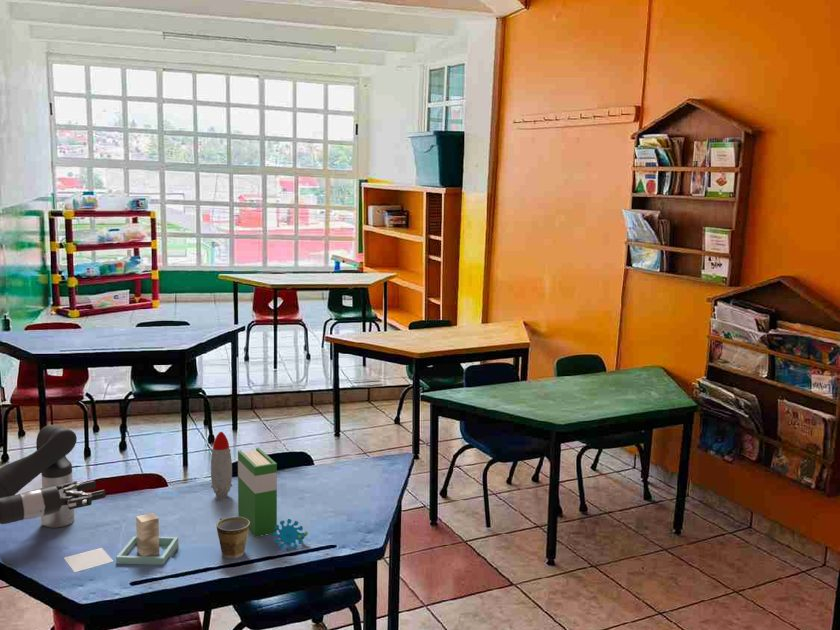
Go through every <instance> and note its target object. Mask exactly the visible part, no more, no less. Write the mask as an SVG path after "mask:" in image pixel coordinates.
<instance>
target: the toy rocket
mask: <svg viewBox="0 0 840 630" xmlns="http://www.w3.org/2000/svg"><path fill="white" fill-rule="evenodd" d="M231 451H232V450H231V449H230V444H229V440H228V438H227V435H225V433H224V432H223V431H219V432H218V434H217V435H216V436H215V438H214V441H213V444H212V449H211V458H210V477H211V478H210V480H211V485H210V487H211V488H212V490H213V493H214V494H215V497H217V498H216V499H218V498H219V500H222V499H223V498H224V499H227V498H228V494H229V492H230V490H231V487H233V484H232V482H233V481H232V479H233V463H232V455H231V454H232V453H231ZM224 499H223V500H224Z"/></svg>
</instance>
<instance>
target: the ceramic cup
mask: <svg viewBox="0 0 840 630" xmlns="http://www.w3.org/2000/svg"><path fill="white" fill-rule="evenodd" d="M249 525H250V522H249V520H248V519H246V518H243V517H238V516H229V517H225V518H224V517H221V518H219V521H218V522H217V523H216V531H217V537H218V540H219V546H220V550H221V555H222V556H223V557H225V558H226V559H238V558H241V557H243V555H244V553H245V550H246V546H247V540H248V539H247V538H248V535H249V532H250V530H249Z"/></svg>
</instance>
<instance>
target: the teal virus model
mask: <svg viewBox="0 0 840 630" xmlns="http://www.w3.org/2000/svg"><path fill="white" fill-rule="evenodd" d="M291 523H292V519H290V518H288V519H287V520H286V525H284V524H285V520H280V522H279V524H280V525H281V529H280V525H279V524H277V525H276V526H275V529H276V530H277V531H278V532H275V531H274V533H273V534H272V536H273V537H278V538H274V543H275V544H278V543H279V542H283V543H279V545H278V547H279V548H280V549H283V548H284V546H285V545H287V546H286V547H285V551H290V550H291V545H292V544H293V546H292V547H293V549H294V550H296V549H297V548H298V547H299V546H298V545H301V544H303V542H304V539H305V537H307V536H308V535H309V533H308V531H305V532H301V531H303V529H304V528H303V525H300V526H298V525H299V522H298V521H297V520H295V521H293V524H291ZM290 524H291V525H290ZM294 526H298V527H294ZM299 531H300V532H299ZM279 538H280V539H279ZM296 541H297V542H298V544H297V542H296Z"/></svg>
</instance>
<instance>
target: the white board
mask: <svg viewBox="0 0 840 630" xmlns="http://www.w3.org/2000/svg"><path fill="white" fill-rule="evenodd" d="M63 559H64V561H65V563H67V564H68V565H69V567H70V568H71V570H72V571H73V573H77V572H81V571H85V570H88V569H89V570H90V569H92V568H95V567H99V566H103V565H106V564H110V563H113V562H114V560H113V559H112V558H111V556H110V555H109V554H108V553H107V552H106V551H105V550H104V548H103V547H100V548H95V549H91V550H88V551H84V552H81V553H77V554H72V555H69V556H68V555H67V556H66V557H65V556H64V557H63Z"/></svg>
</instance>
